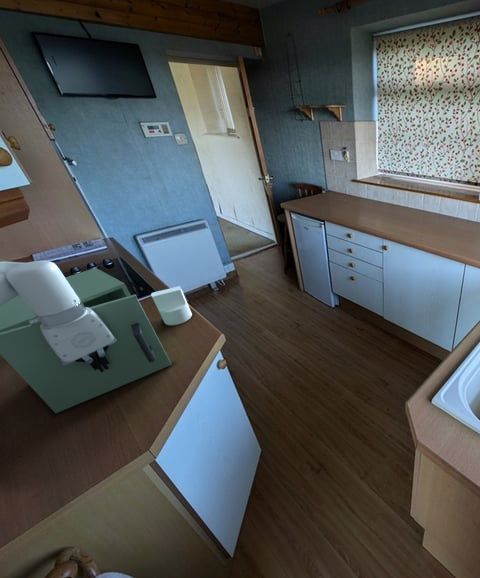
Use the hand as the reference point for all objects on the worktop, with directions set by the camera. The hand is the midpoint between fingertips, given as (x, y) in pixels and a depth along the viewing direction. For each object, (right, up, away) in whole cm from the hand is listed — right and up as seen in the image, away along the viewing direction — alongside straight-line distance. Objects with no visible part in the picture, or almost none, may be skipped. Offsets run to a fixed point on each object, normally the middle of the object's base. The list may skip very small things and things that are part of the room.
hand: (103, 368), depth 77 cm
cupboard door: (0, -8, +4) cm, 9 cm away
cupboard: (-13, -3, +13) cm, 19 cm away
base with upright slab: (-4, +10, +34) cm, 35 cm away
